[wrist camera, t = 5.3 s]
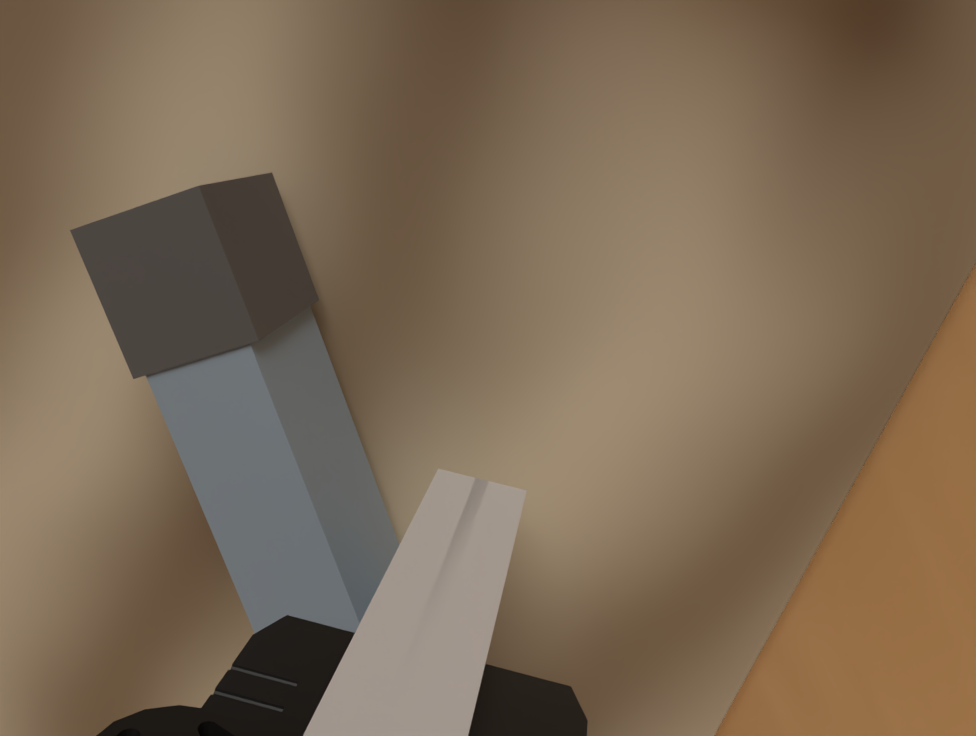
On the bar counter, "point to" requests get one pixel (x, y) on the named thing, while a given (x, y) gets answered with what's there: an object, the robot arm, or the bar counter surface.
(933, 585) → the bar counter surface
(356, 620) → the leg
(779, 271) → the board
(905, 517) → the bar counter surface
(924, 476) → the bar counter surface
